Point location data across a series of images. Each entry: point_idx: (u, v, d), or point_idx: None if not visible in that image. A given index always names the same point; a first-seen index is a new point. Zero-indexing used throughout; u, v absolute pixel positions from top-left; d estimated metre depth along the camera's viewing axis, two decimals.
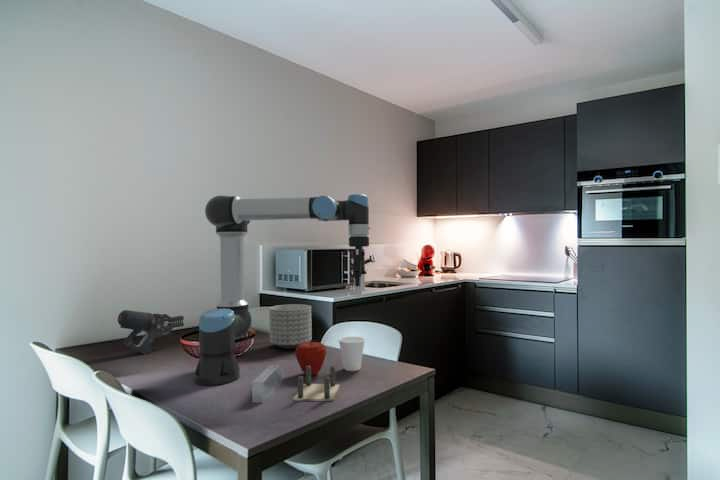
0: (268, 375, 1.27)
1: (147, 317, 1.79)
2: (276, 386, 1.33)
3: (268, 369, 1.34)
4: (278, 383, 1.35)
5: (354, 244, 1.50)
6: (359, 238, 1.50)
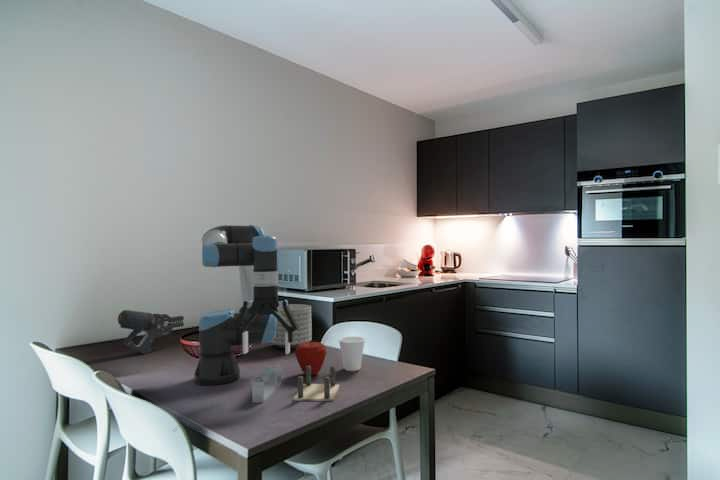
0: (268, 375, 1.27)
1: (147, 317, 1.79)
2: (276, 386, 1.33)
3: (268, 369, 1.34)
4: (278, 383, 1.35)
5: None
6: None
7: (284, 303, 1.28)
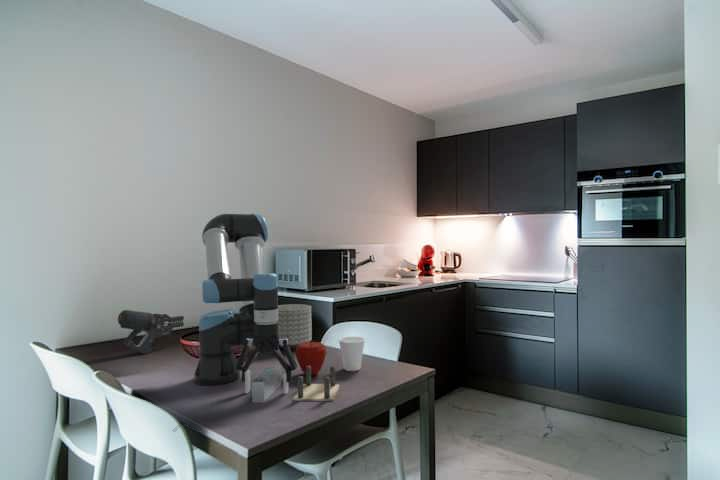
0: (268, 375, 1.27)
1: (147, 317, 1.79)
2: (276, 386, 1.33)
3: (268, 369, 1.34)
4: (278, 383, 1.35)
5: None
6: None
7: (284, 342, 1.28)
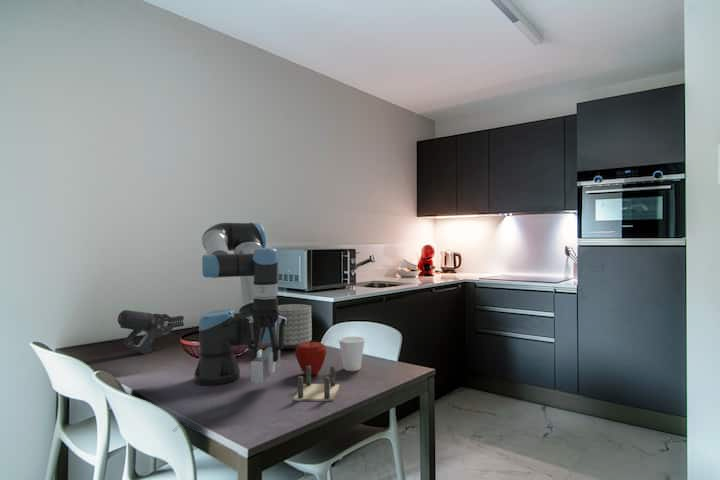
0: (267, 355, 1.28)
1: (147, 317, 1.79)
2: (275, 367, 1.33)
3: (267, 350, 1.34)
4: (277, 364, 1.35)
5: None
6: None
7: (283, 321, 1.28)
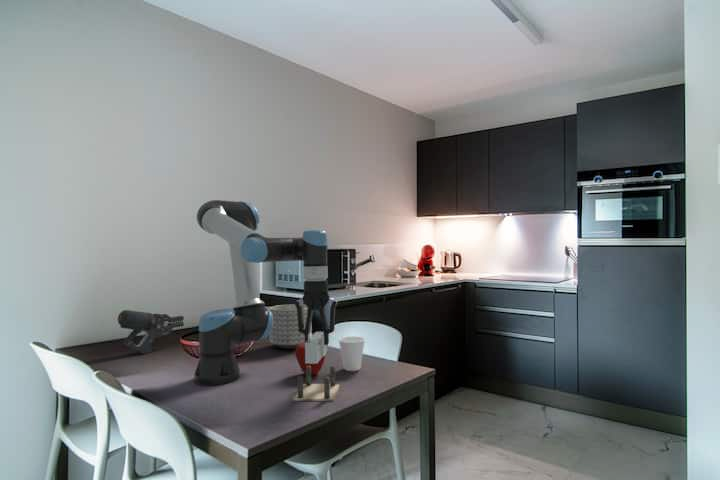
0: (319, 338, 1.26)
1: (147, 317, 1.79)
2: None
3: (316, 334, 1.32)
4: (326, 349, 1.33)
5: None
6: None
7: (334, 303, 1.27)
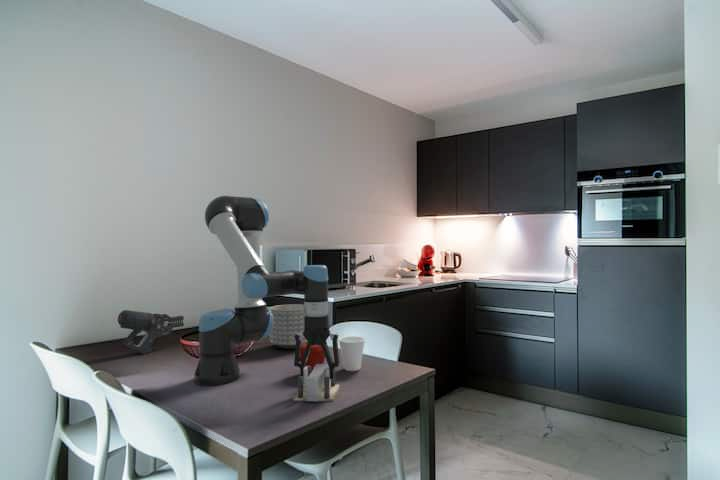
0: (319, 374, 1.26)
1: (147, 317, 1.79)
2: None
3: (317, 368, 1.32)
4: None
5: None
6: None
7: (335, 337, 1.27)
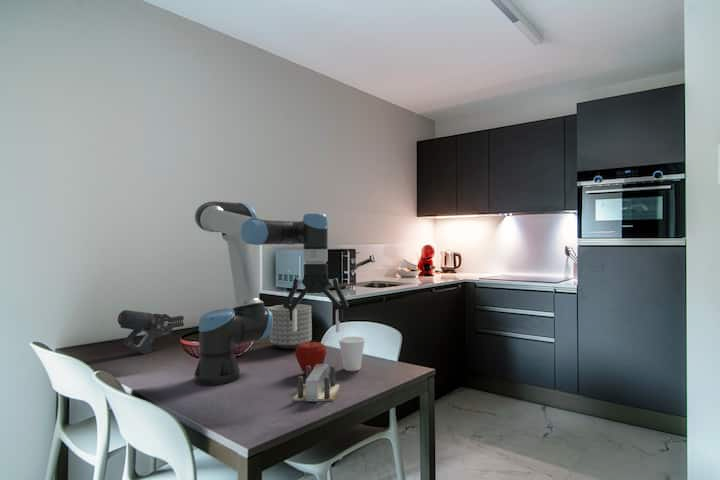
0: (319, 374, 1.26)
1: (147, 317, 1.79)
2: None
3: (317, 368, 1.32)
4: None
5: None
6: None
7: (335, 281, 1.27)
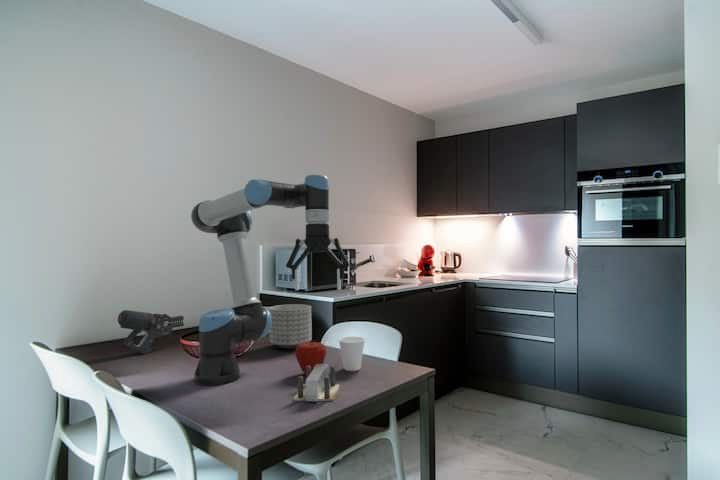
0: (319, 374, 1.26)
1: (147, 317, 1.79)
2: None
3: (317, 368, 1.32)
4: None
5: None
6: None
7: (336, 240, 1.31)
